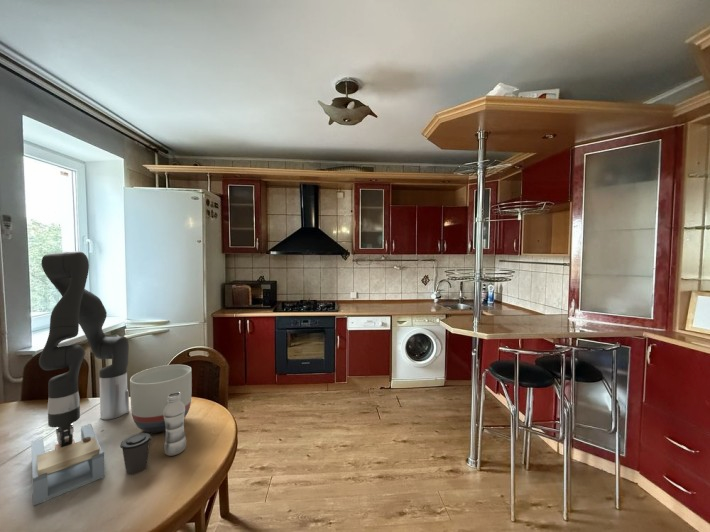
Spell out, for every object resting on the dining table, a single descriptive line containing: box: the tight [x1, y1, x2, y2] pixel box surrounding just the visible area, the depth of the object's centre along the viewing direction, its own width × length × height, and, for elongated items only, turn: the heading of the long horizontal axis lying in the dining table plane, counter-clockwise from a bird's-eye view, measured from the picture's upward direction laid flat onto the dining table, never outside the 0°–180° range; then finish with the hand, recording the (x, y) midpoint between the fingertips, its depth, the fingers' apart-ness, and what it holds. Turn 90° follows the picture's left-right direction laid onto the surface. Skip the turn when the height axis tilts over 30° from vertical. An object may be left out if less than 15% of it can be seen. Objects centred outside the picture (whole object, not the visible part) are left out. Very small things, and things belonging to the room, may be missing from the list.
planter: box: [129, 364, 193, 434], centre depth 120 cm, size 20×20×21 cm
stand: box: [30, 423, 106, 506], centre depth 97 cm, size 15×27×7 cm, turn 47°
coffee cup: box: [119, 432, 152, 476], centre depth 97 cm, size 8×8×10 cm
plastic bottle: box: [163, 392, 187, 457], centre depth 105 cm, size 6×7×20 cm
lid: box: [37, 437, 100, 476], centre depth 91 cm, size 13×10×3 cm
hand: (65, 459), depth 100 cm, fingers closed on block, 4 cm apart
